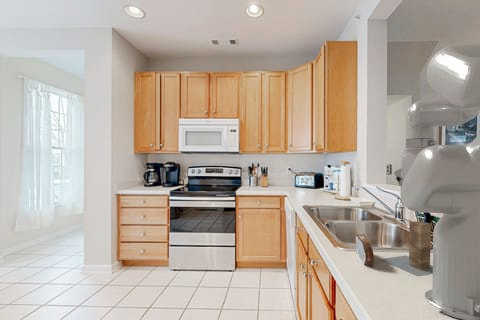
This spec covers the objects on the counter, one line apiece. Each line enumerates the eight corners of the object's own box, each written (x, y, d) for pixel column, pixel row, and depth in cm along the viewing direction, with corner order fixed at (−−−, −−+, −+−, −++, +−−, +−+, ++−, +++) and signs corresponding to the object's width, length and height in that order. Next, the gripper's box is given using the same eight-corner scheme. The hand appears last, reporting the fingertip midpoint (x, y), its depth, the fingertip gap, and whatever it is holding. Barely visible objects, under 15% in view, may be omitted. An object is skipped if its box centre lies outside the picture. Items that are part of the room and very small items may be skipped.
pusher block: (430, 268, 86) (430, 223, 86) (420, 270, 85) (421, 224, 84) (418, 263, 90) (418, 220, 89) (408, 265, 88) (409, 221, 88)
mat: (446, 273, 84) (446, 271, 84) (417, 278, 80) (417, 276, 80) (405, 257, 97) (406, 255, 97) (379, 261, 93) (379, 259, 93)
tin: (374, 270, 86) (375, 244, 86) (363, 269, 86) (364, 243, 86) (363, 254, 101) (363, 231, 100) (354, 253, 101) (354, 230, 101)
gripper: (456, 144, 80) (456, 203, 80) (403, 146, 96) (403, 195, 96) (438, 143, 78) (437, 204, 78) (387, 146, 94) (386, 196, 94)
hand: (418, 199), depth 87 cm, fingers open, 9 cm apart
